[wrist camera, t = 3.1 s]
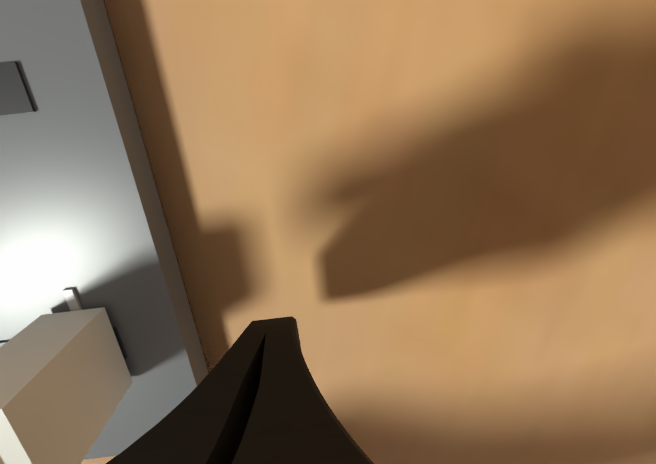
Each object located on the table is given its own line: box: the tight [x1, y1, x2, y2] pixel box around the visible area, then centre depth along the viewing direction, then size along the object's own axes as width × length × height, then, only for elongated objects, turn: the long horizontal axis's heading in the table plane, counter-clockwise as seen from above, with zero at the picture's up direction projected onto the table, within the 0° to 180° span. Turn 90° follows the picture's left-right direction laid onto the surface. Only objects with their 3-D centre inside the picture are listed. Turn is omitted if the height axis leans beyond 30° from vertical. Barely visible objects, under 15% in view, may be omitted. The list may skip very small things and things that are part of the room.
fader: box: [0, 307, 133, 464], centre depth 10 cm, size 3×2×4 cm, turn 6°
